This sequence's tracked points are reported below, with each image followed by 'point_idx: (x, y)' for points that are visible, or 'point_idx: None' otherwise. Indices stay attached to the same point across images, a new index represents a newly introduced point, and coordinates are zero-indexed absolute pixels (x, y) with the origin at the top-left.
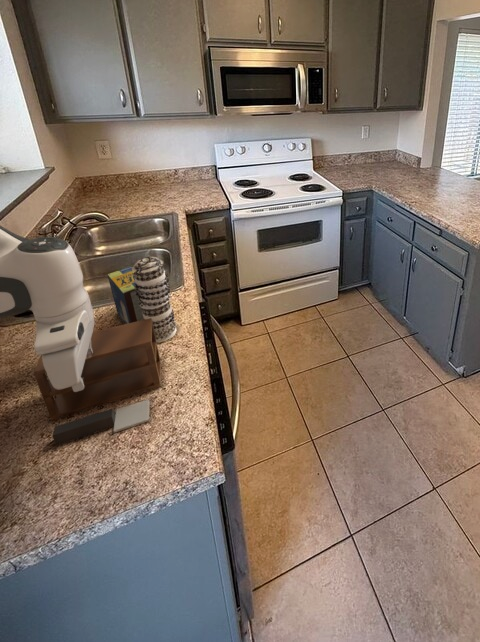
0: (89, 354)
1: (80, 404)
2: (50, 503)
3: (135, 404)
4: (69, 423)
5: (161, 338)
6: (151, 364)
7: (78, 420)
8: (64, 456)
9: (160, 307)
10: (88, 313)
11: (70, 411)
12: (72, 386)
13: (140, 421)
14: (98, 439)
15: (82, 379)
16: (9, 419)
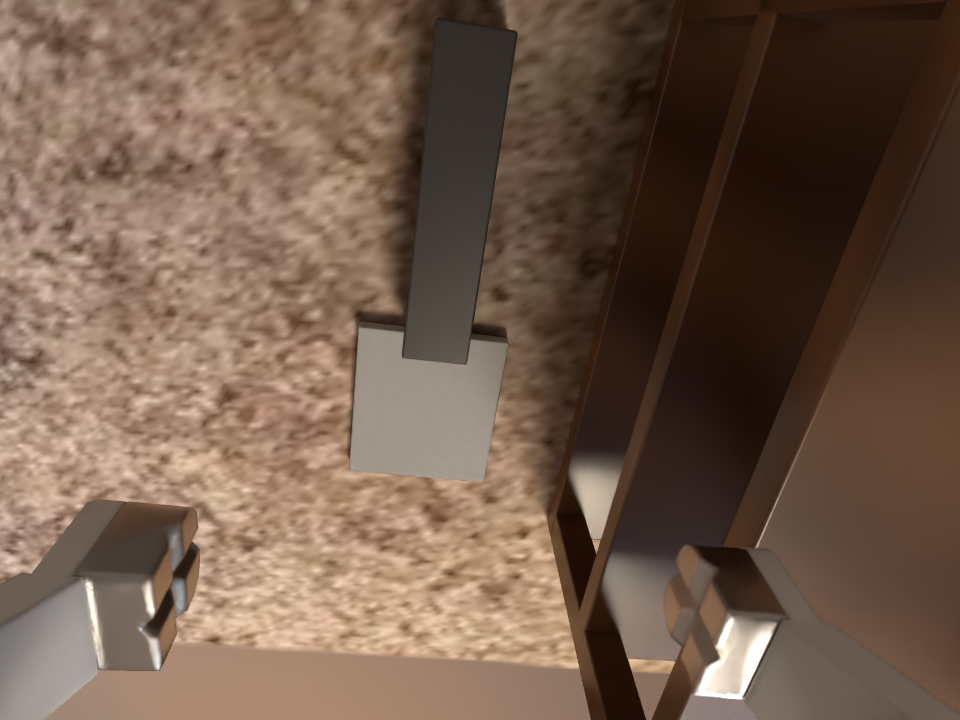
0: (689, 633)
1: (676, 163)
2: (28, 18)
3: (484, 427)
4: (485, 127)
5: None
6: (581, 637)
7: (477, 182)
8: (327, 76)
9: None
10: None
11: (658, 103)
12: (44, 564)
13: (354, 440)
14: (357, 249)
15: (111, 669)
16: None
